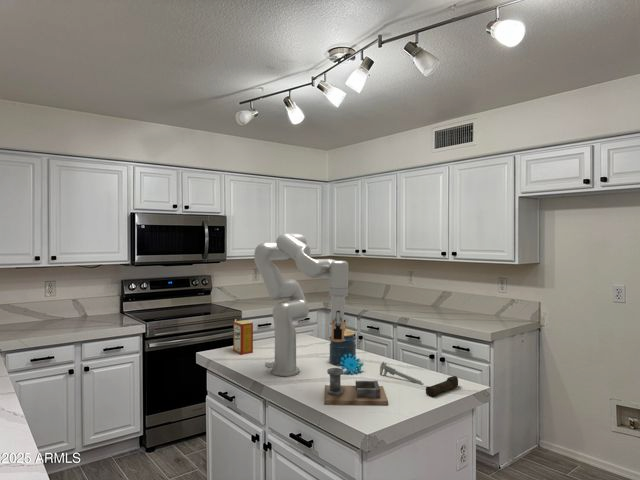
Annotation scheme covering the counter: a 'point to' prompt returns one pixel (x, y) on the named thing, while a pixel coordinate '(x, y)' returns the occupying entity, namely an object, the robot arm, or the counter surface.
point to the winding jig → (353, 391)
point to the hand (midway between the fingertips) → (337, 336)
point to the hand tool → (442, 386)
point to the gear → (351, 364)
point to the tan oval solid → (333, 332)
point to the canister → (342, 347)
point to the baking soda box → (243, 337)
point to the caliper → (397, 373)
